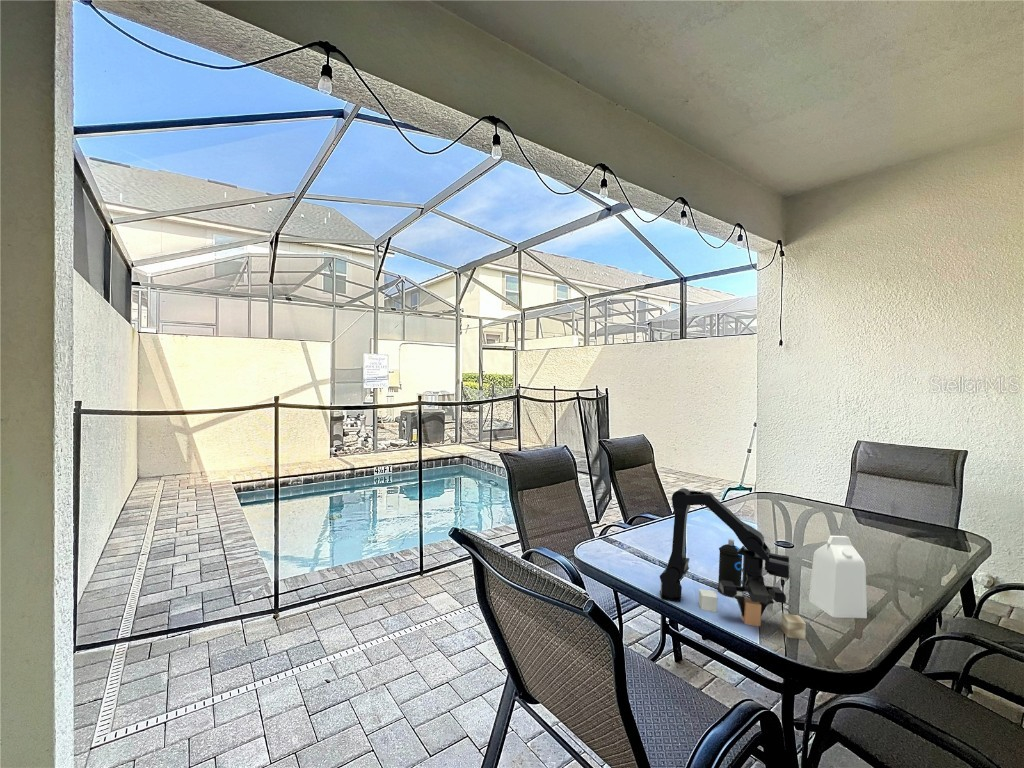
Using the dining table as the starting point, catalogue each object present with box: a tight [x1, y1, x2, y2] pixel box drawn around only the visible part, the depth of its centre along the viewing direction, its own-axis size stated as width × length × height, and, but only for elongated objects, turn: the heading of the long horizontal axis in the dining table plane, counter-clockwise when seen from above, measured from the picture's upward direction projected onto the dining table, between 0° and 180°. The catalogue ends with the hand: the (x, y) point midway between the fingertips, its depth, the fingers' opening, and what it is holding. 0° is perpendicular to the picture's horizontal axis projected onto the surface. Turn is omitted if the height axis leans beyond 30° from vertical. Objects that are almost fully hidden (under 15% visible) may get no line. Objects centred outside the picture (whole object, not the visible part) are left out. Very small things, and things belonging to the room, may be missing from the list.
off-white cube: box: [698, 588, 718, 613], centre depth 150 cm, size 5×5×5 cm
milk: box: [808, 535, 868, 619], centre depth 153 cm, size 12×12×26 cm
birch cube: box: [780, 612, 807, 641], centre depth 135 cm, size 5×5×5 cm
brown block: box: [740, 596, 762, 627], centre depth 142 cm, size 4×4×7 cm
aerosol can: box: [717, 538, 743, 598], centre depth 162 cm, size 8×8×20 cm
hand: (750, 617), depth 142 cm, fingers closed on brown block, 4 cm apart
